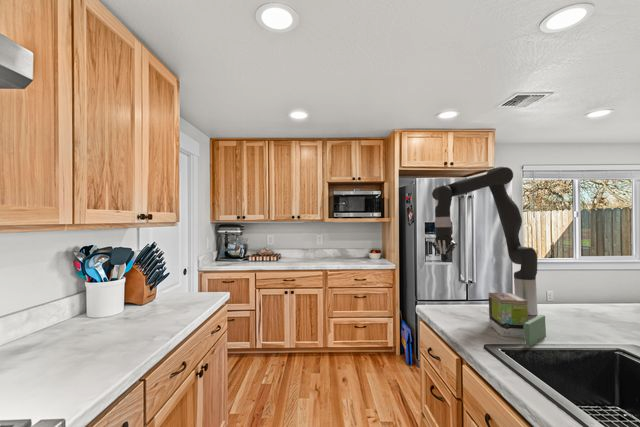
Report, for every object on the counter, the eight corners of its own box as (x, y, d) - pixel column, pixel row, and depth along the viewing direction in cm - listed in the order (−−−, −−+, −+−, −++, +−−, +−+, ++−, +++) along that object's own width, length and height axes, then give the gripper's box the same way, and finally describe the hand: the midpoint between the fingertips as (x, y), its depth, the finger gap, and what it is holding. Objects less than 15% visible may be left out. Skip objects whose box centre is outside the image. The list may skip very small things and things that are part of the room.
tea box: (530, 338, 119) (528, 300, 120) (501, 337, 121) (500, 299, 122) (513, 326, 134) (512, 292, 135) (488, 325, 136) (487, 291, 137)
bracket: (539, 334, 124) (538, 314, 124) (546, 335, 122) (544, 315, 122) (523, 344, 113) (522, 322, 114) (530, 346, 111) (529, 324, 112)
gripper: (460, 226, 148) (461, 262, 147) (435, 226, 158) (436, 260, 158) (451, 226, 143) (453, 263, 143) (426, 226, 154) (428, 261, 153)
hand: (444, 261), depth 150 cm, fingers closed
